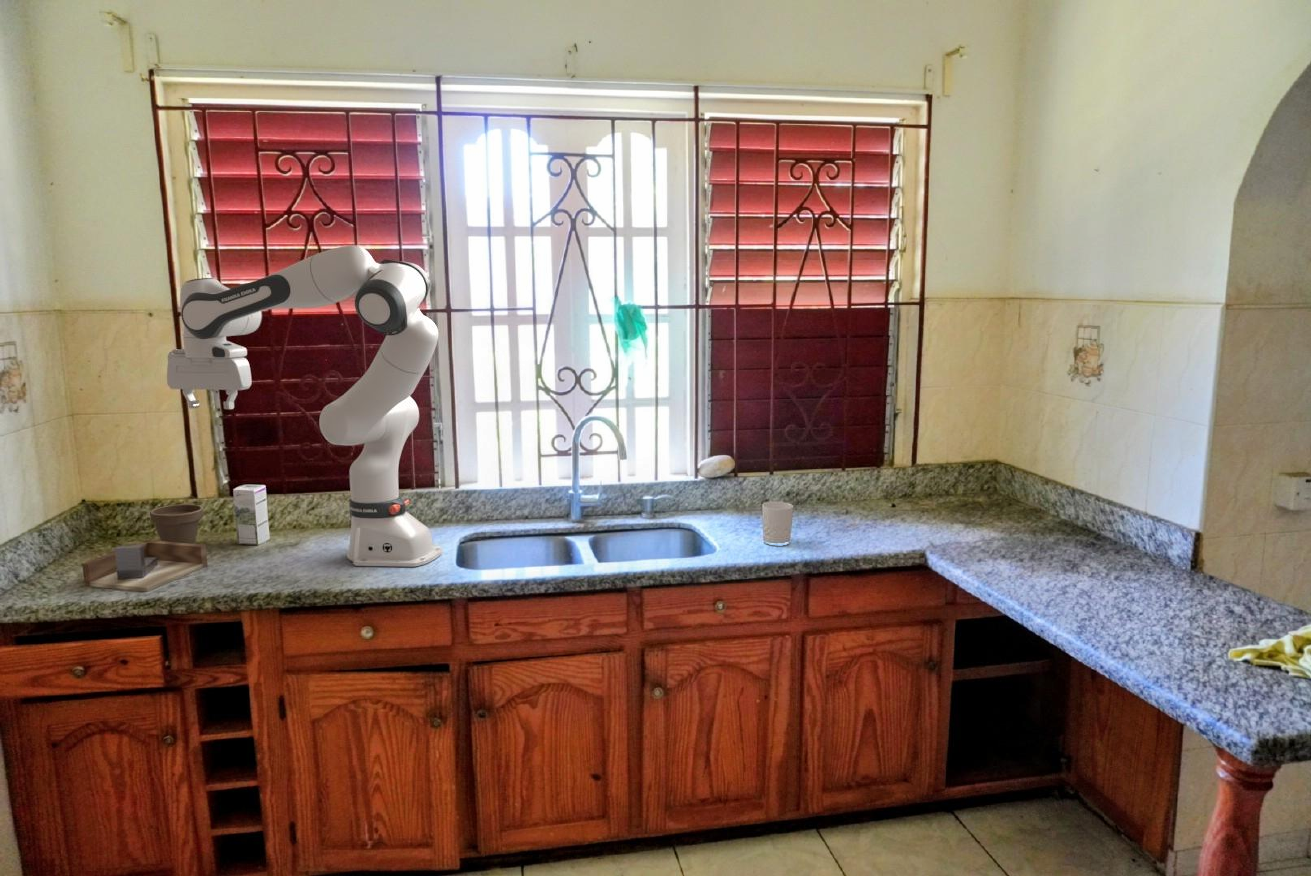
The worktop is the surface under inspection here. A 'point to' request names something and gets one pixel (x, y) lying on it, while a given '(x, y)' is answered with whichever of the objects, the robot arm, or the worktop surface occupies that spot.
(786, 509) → the white cup
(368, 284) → the robot arm
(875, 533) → the worktop surface
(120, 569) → the angle bracket
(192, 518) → the flower pot
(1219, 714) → the worktop surface
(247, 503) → the syrup box
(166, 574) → the corner arena
